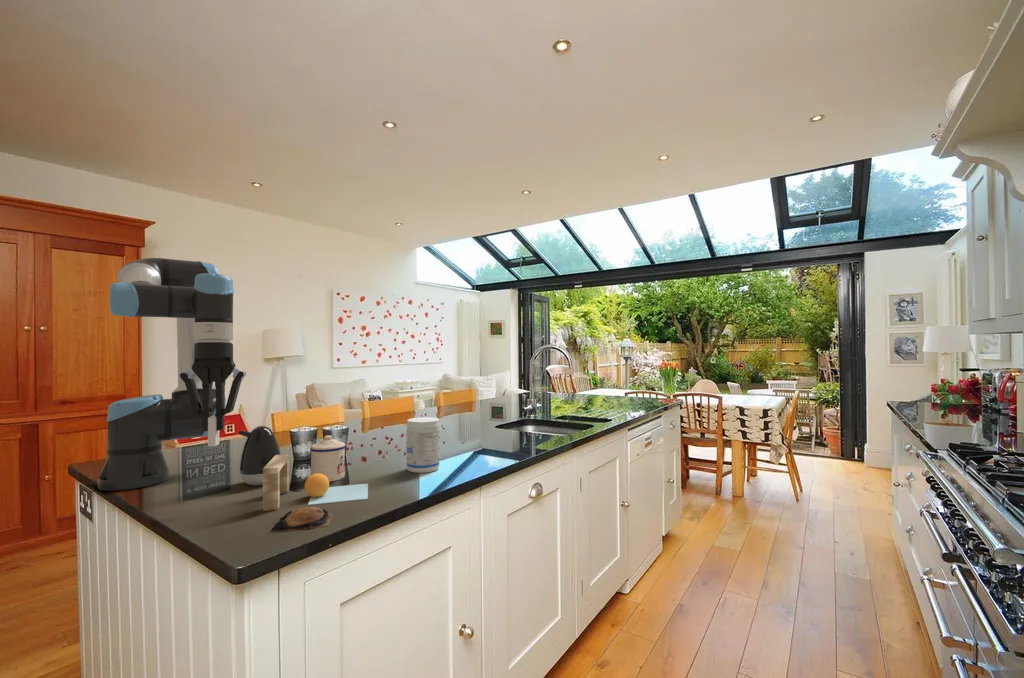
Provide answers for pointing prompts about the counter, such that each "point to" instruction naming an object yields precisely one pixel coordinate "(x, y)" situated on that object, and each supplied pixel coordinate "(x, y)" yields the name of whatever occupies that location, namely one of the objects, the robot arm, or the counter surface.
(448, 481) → the counter surface
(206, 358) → the robot arm
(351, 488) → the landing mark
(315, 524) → the mussel
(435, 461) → the supplement tub
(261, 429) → the pump dispenser
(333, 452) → the teacup with lid
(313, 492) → the ball
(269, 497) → the bridge
